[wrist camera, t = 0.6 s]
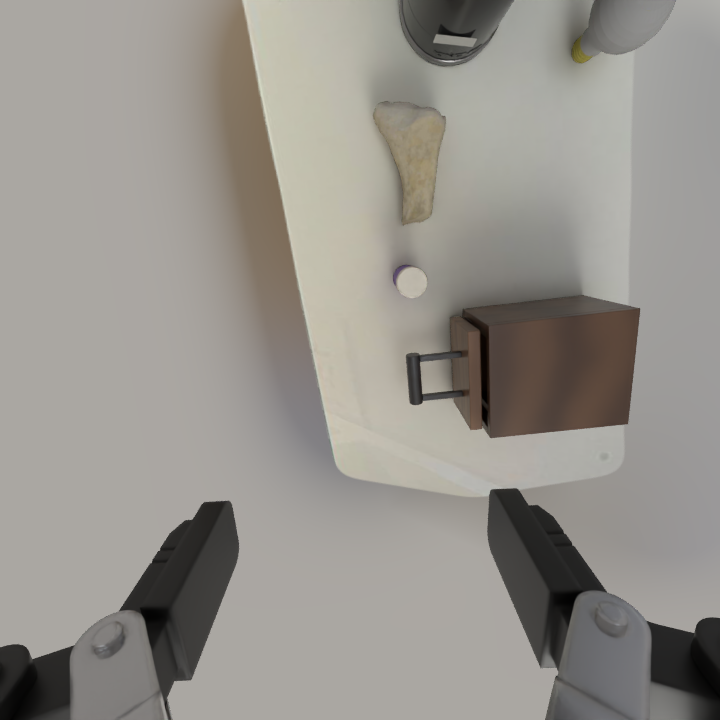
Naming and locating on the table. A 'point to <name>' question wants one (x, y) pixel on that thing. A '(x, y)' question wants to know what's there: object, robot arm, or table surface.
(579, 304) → the cabinet
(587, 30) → the light bulb
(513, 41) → the table surface
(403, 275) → the glue stick
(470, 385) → the drawer
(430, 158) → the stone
